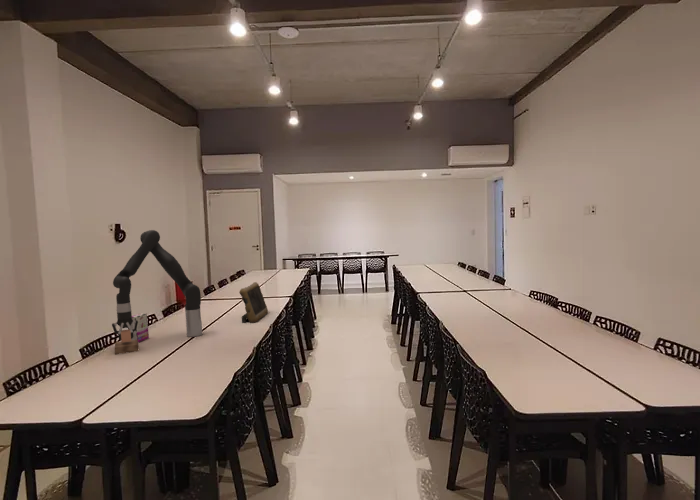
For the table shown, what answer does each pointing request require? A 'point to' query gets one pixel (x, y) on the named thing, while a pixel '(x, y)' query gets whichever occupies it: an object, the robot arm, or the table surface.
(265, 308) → the tablet
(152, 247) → the robot arm
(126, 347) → the walnut base
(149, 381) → the table surface
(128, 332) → the terracotta block
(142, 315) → the candy bar box
